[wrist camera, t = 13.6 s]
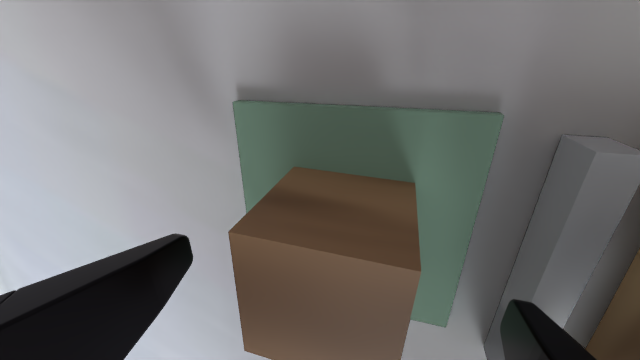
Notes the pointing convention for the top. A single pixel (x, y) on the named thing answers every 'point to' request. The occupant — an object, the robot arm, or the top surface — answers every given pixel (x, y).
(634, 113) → the top surface
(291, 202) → the block
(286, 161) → the coaster
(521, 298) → the tunnel
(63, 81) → the top surface
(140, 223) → the top surface
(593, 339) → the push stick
